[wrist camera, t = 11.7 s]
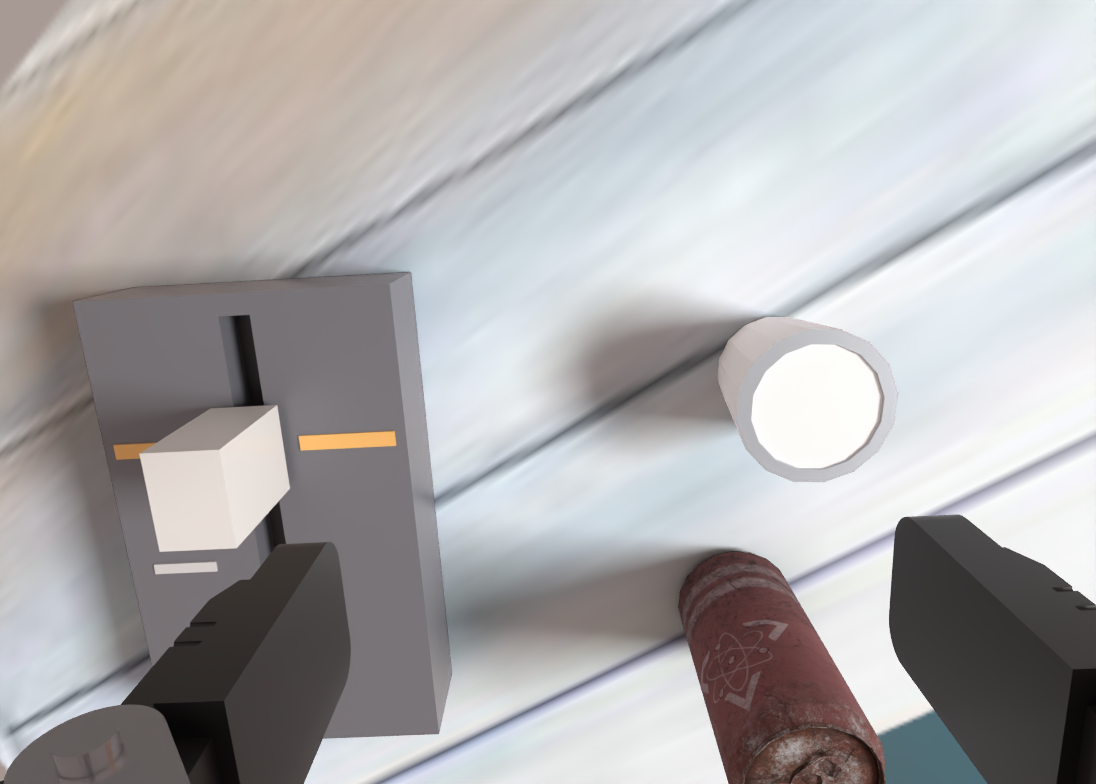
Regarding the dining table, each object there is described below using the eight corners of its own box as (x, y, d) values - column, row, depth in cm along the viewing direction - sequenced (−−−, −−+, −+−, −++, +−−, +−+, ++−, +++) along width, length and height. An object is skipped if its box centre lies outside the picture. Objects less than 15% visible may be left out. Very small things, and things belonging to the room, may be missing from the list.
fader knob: (229, 396, 36) (139, 453, 28) (292, 393, 36) (219, 449, 28) (242, 475, 37) (159, 551, 29) (304, 472, 37) (236, 548, 29)
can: (670, 645, 43) (722, 854, 29) (684, 543, 41) (745, 715, 28) (776, 652, 43) (878, 865, 30) (794, 551, 41) (910, 727, 28)
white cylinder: (817, 445, 40) (870, 498, 33) (690, 419, 40) (717, 467, 33) (857, 318, 38) (922, 347, 31) (725, 290, 38) (761, 313, 31)
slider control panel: (133, 287, 38) (71, 302, 33) (411, 271, 38) (389, 284, 33) (211, 683, 44) (168, 746, 39) (451, 673, 44) (438, 735, 39)
